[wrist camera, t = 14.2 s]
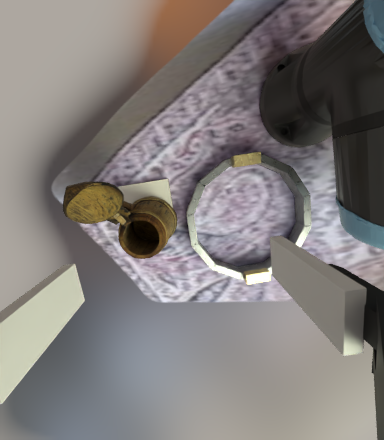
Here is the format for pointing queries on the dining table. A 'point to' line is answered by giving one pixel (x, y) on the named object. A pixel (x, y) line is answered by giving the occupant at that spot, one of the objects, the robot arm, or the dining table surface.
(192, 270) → the dining table surface
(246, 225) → the dining table surface
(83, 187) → the wooden mug
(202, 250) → the collar
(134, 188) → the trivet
